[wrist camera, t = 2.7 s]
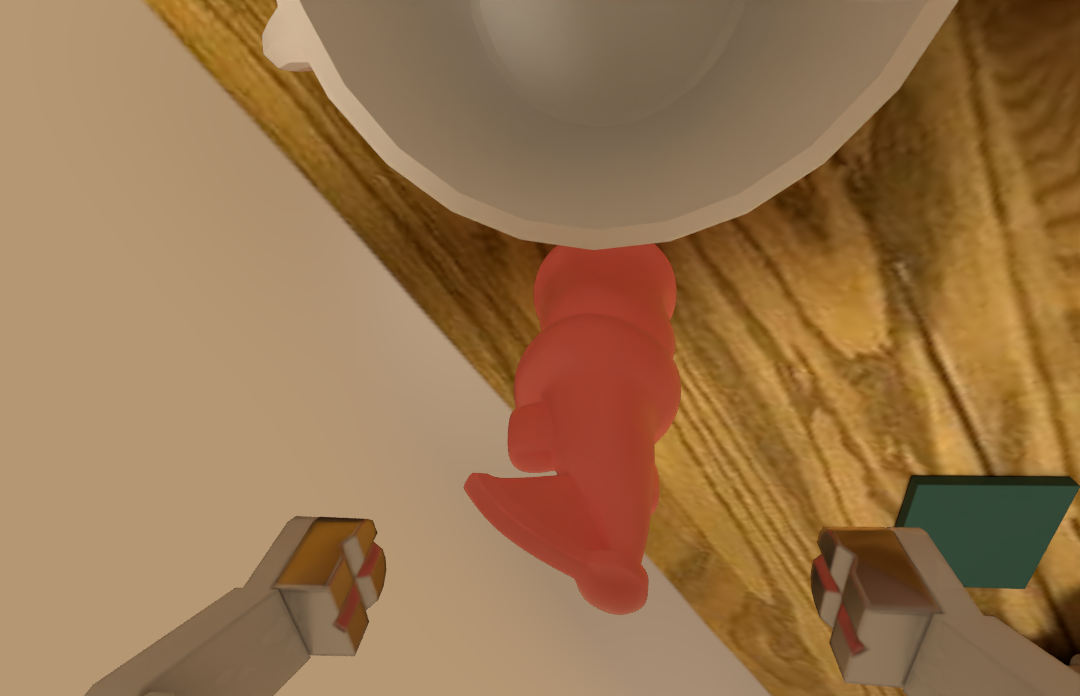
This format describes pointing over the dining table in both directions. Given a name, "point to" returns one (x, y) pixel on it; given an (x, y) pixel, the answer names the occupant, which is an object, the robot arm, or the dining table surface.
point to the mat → (989, 523)
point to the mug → (604, 100)
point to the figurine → (591, 420)
